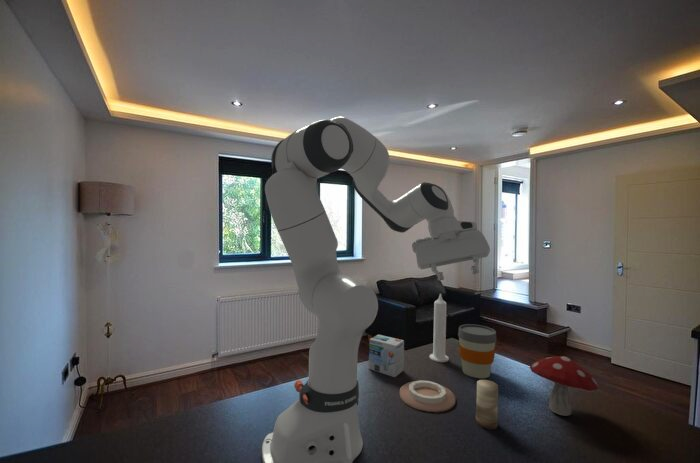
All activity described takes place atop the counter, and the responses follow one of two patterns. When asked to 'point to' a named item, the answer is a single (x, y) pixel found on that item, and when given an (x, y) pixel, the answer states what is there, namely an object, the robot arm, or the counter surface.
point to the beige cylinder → (487, 404)
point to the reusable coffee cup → (476, 349)
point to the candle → (439, 331)
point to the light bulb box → (386, 355)
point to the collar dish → (427, 396)
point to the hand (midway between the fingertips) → (458, 276)
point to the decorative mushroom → (563, 380)
